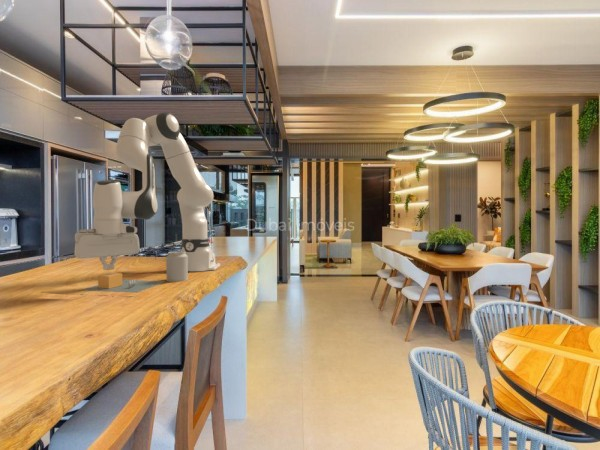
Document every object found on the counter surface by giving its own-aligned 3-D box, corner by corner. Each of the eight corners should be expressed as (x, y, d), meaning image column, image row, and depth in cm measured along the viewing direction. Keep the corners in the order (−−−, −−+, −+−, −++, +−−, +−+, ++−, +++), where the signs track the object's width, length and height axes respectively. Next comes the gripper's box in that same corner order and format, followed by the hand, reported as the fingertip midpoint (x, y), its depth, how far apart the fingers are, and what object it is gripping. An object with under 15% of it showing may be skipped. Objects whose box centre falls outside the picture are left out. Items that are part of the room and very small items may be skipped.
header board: (117, 283, 144) (117, 272, 144) (167, 285, 141) (167, 274, 140) (80, 294, 125) (80, 282, 125) (137, 297, 122) (136, 284, 122)
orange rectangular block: (112, 284, 134) (111, 272, 134) (122, 285, 133) (122, 273, 133) (98, 287, 128) (98, 275, 128) (109, 288, 127) (108, 276, 127)
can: (184, 285, 140) (183, 252, 139) (163, 285, 140) (163, 252, 140) (190, 281, 147) (190, 250, 147) (170, 281, 148) (170, 250, 147)
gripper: (78, 229, 120) (79, 274, 120) (141, 227, 136) (142, 267, 136) (70, 229, 124) (71, 272, 124) (132, 227, 140) (133, 265, 140)
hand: (108, 269), depth 130 cm, fingers closed
